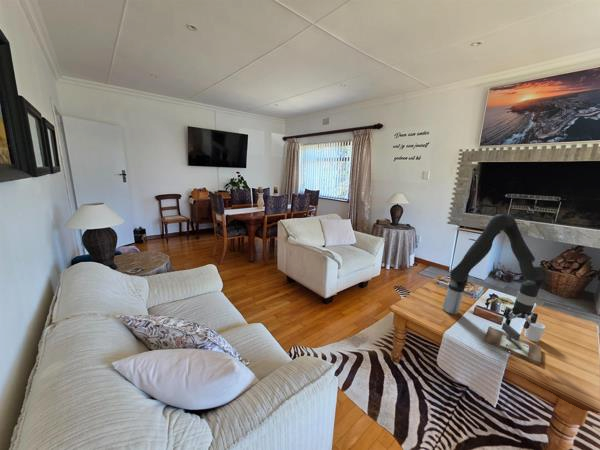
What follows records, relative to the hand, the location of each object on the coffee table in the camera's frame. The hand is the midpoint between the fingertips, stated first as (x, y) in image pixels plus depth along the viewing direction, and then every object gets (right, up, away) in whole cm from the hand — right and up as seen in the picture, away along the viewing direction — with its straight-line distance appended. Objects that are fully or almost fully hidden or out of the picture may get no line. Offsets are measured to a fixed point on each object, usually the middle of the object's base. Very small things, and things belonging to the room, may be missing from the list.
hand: (516, 326), depth 137 cm
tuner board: (+1, -13, +4) cm, 13 cm away
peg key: (+1, -10, +4) cm, 11 cm away
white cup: (+19, -12, +11) cm, 25 cm away
